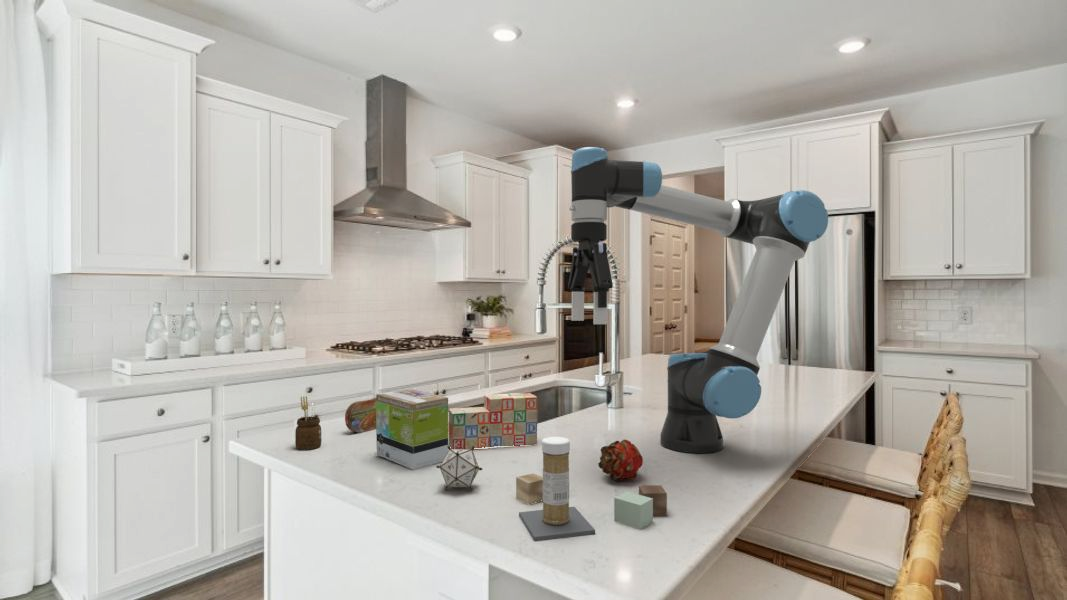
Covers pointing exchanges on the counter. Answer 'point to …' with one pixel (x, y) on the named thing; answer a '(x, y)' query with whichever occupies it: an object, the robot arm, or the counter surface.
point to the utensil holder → (307, 430)
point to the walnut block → (655, 498)
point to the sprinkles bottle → (556, 480)
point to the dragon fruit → (620, 460)
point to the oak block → (529, 488)
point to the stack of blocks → (495, 422)
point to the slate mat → (548, 531)
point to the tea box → (412, 427)
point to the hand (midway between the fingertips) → (588, 322)
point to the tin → (361, 416)
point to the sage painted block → (633, 510)
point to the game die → (459, 468)
